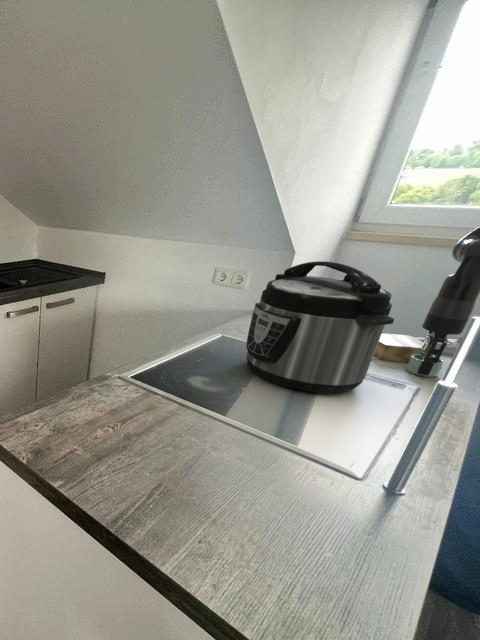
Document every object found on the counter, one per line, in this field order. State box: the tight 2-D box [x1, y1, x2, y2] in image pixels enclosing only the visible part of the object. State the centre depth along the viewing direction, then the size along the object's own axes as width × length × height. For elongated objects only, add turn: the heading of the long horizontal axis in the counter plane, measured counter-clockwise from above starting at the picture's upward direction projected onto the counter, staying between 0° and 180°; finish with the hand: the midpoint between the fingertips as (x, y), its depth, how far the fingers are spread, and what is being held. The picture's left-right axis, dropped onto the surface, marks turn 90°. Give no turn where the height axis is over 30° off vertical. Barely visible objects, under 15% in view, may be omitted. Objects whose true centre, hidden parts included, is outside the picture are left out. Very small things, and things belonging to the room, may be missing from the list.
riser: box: [373, 332, 424, 363], centre depth 122 cm, size 12×12×5 cm
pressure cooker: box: [245, 260, 395, 394], centre depth 105 cm, size 30×28×32 cm
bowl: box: [405, 354, 445, 378], centre depth 110 cm, size 6×6×4 cm
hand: (422, 369), depth 111 cm, fingers closed on bowl, 6 cm apart
